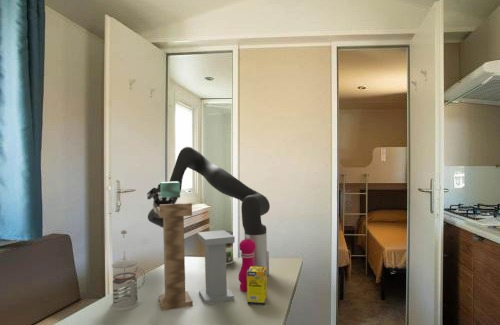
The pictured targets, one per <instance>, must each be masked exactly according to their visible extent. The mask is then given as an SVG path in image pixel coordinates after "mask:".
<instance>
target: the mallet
mask: <svg viewBox="0 0 500 325" xmlns="http://www.w3.org/2000/svg"><path fill="white" fill-rule="evenodd" d="M159 184H160V188H161V197H162V198H165V197H180V198H181V192H180V182H177V181H173V182H169V181H160V183H159Z"/></svg>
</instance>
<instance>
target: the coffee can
mask: <svg viewBox="0 0 500 325" xmlns="http://www.w3.org/2000/svg"><path fill="white" fill-rule="evenodd" d="M225 231H226V232H228V233H229V234H231V235H233V233H234V232H233V231H232V230H225ZM233 236H234V235H233ZM233 263H234V243H226V266H227V265H230V264H233Z"/></svg>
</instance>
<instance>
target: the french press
mask: <svg viewBox="0 0 500 325" xmlns="http://www.w3.org/2000/svg"><path fill="white" fill-rule="evenodd" d="M120 234H121V235H123V236H122V237H125V235H126V234H128V232H127V230H125V229H122V230H121V231H120ZM125 254H126V253H125V252H123V258H120V259H119V260H116V261H114V262H113V263H111V267H112V268H113V269H123V272H119V273H116V274H115V275H113V280H112V302H111V304H110V306H109V309H111V310H112V311H126V310H130V309H134V308H136V307H138V306H139V305H141V301H140V300H139V298H138V294H139V293H138V290H140V289H141V288H142V287H143V286H144V284H145V282H146V273H145V271H144V269H142V267H139V266H136V265H137V263H138V261H137V260H135V259H132V258H129V257H128V258H126V257H125ZM134 266H136V267H135V268H134V272H133V271H132V272H131V271H129V272H128V271H127V272H126V270H125V269H126V268H132V267H134ZM137 271H138V272H140V273H141V276H142V283H141V285H140V286H139V287H138V278H137V277H136V276H137V274H136V273H137ZM127 281H128V282H127ZM121 288H122V289H121Z"/></svg>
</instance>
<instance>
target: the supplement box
mask: <svg viewBox="0 0 500 325" xmlns="http://www.w3.org/2000/svg"><path fill="white" fill-rule="evenodd" d="M246 295H247V296H246V297H247V299H246V300H247V302H246V303H247V305H257V306H258V305H259V306H265V305H266V301H267V300H268V275H267V267H256V266H251V267H250V268H249V269H248V271H247V292H246Z"/></svg>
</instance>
